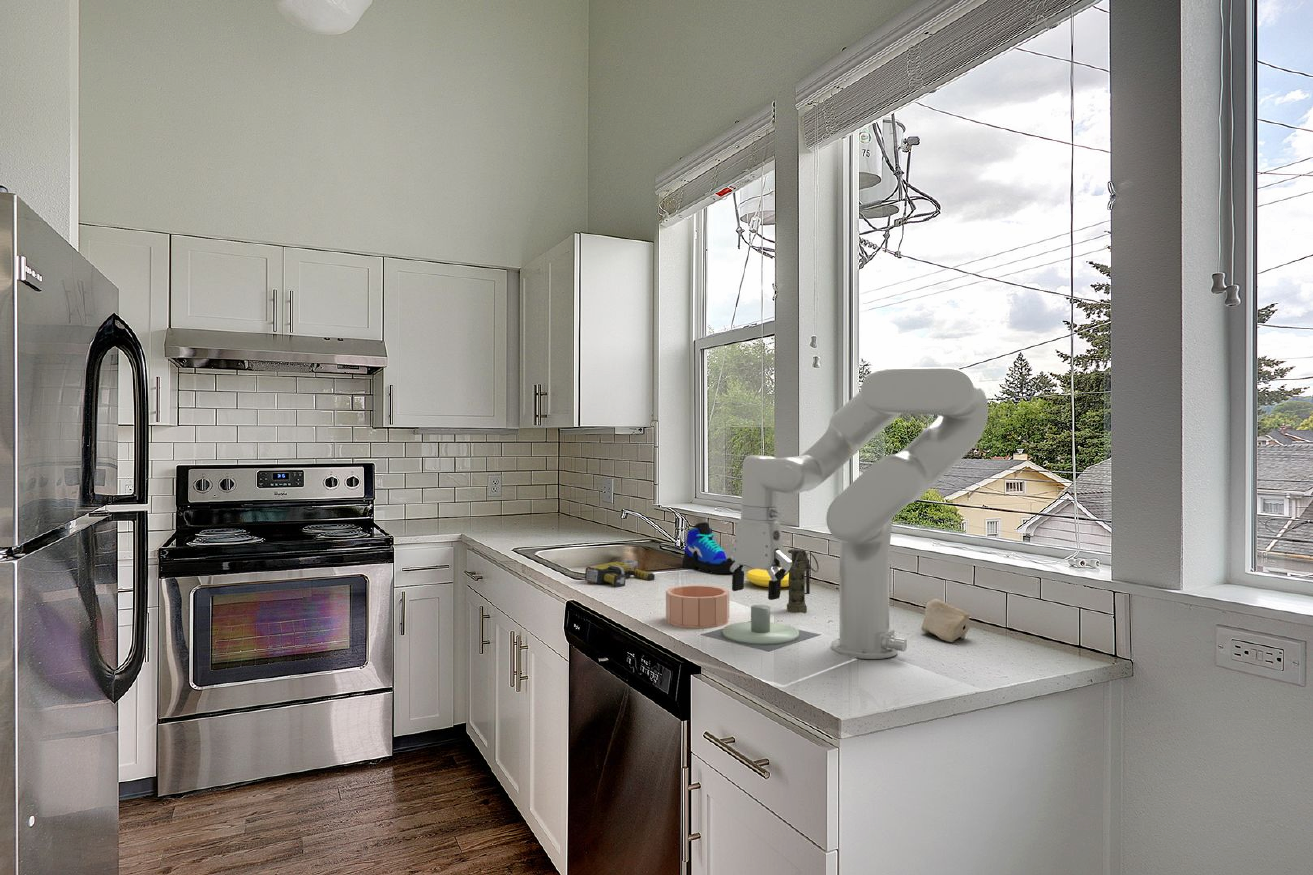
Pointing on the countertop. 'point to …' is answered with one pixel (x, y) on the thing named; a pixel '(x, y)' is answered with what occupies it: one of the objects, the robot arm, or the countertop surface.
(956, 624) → the decorative stone
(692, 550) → the sneaker
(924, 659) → the countertop surface
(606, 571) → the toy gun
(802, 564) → the grenade
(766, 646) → the mat
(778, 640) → the lid
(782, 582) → the vase
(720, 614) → the bowl
